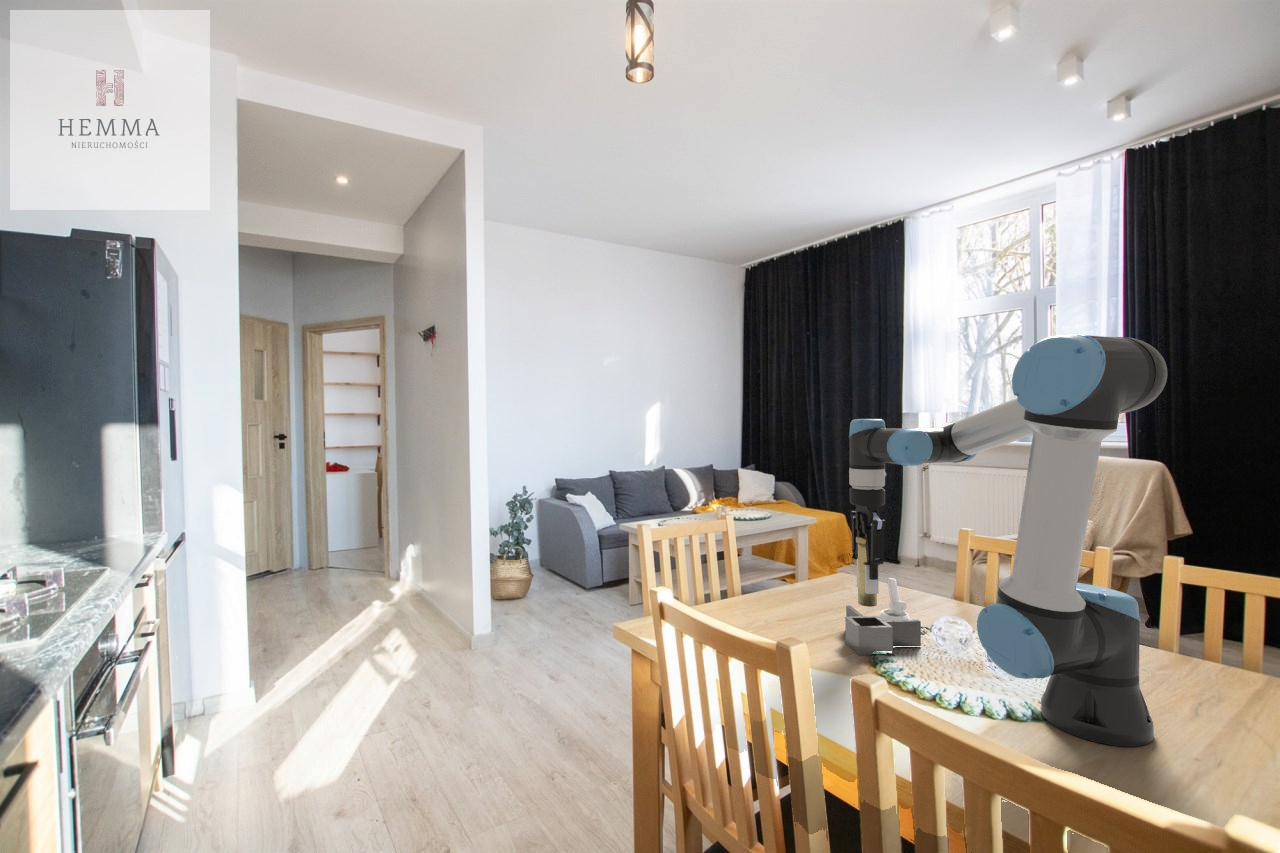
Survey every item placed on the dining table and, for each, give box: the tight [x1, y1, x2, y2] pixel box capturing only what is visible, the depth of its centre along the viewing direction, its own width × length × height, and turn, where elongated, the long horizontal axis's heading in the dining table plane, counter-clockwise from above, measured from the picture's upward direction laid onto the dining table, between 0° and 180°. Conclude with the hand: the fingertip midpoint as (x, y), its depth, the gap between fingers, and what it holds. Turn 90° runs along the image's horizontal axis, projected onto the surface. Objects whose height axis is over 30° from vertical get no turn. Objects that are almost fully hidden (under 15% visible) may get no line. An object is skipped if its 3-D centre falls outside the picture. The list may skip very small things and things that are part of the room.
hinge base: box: [844, 605, 922, 656], centre depth 139 cm, size 16×16×6 cm
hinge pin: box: [856, 536, 878, 608], centre depth 135 cm, size 5×5×15 cm
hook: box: [878, 577, 912, 621], centre depth 157 cm, size 8×12×7 cm
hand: (867, 589), depth 135 cm, fingers closed on hinge pin, 4 cm apart
